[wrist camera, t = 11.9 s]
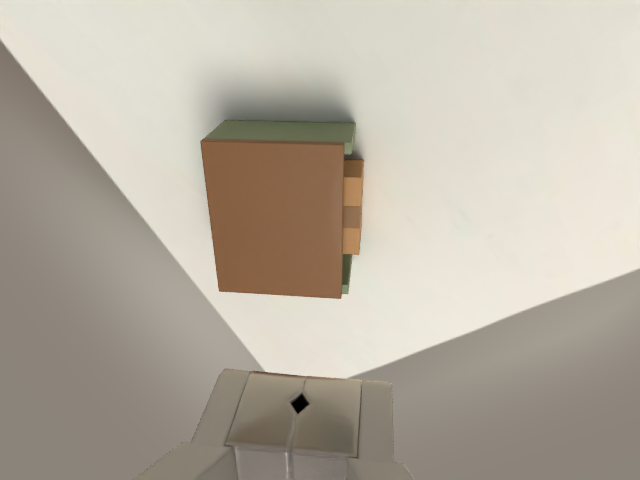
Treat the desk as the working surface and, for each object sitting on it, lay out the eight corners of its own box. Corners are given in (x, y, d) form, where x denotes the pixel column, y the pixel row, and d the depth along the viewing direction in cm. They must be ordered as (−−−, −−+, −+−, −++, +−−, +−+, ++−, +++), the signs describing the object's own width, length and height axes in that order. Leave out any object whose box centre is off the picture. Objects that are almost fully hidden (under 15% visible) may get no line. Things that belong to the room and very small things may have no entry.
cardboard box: (363, 159, 39) (361, 177, 35) (361, 232, 42) (359, 255, 38) (271, 157, 40) (260, 174, 36) (275, 228, 43) (265, 250, 39)
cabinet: (355, 122, 37) (351, 145, 32) (351, 261, 43) (347, 299, 38) (225, 119, 38) (200, 141, 33) (238, 255, 44) (218, 291, 39)
